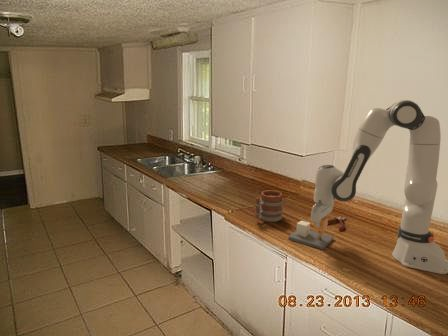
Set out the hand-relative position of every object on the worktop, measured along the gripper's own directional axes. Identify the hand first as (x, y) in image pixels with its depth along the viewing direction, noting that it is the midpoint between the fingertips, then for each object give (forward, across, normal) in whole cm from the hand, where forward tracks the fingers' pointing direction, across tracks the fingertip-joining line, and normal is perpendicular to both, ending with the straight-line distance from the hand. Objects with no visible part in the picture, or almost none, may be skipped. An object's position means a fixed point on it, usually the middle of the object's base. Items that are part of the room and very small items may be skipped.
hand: (320, 224), depth 164 cm
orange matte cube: (+2, 0, 0) cm, 2 cm away
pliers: (+10, +28, -1) cm, 29 cm away
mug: (+10, +10, +35) cm, 38 cm away
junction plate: (+9, 0, +4) cm, 10 cm away
